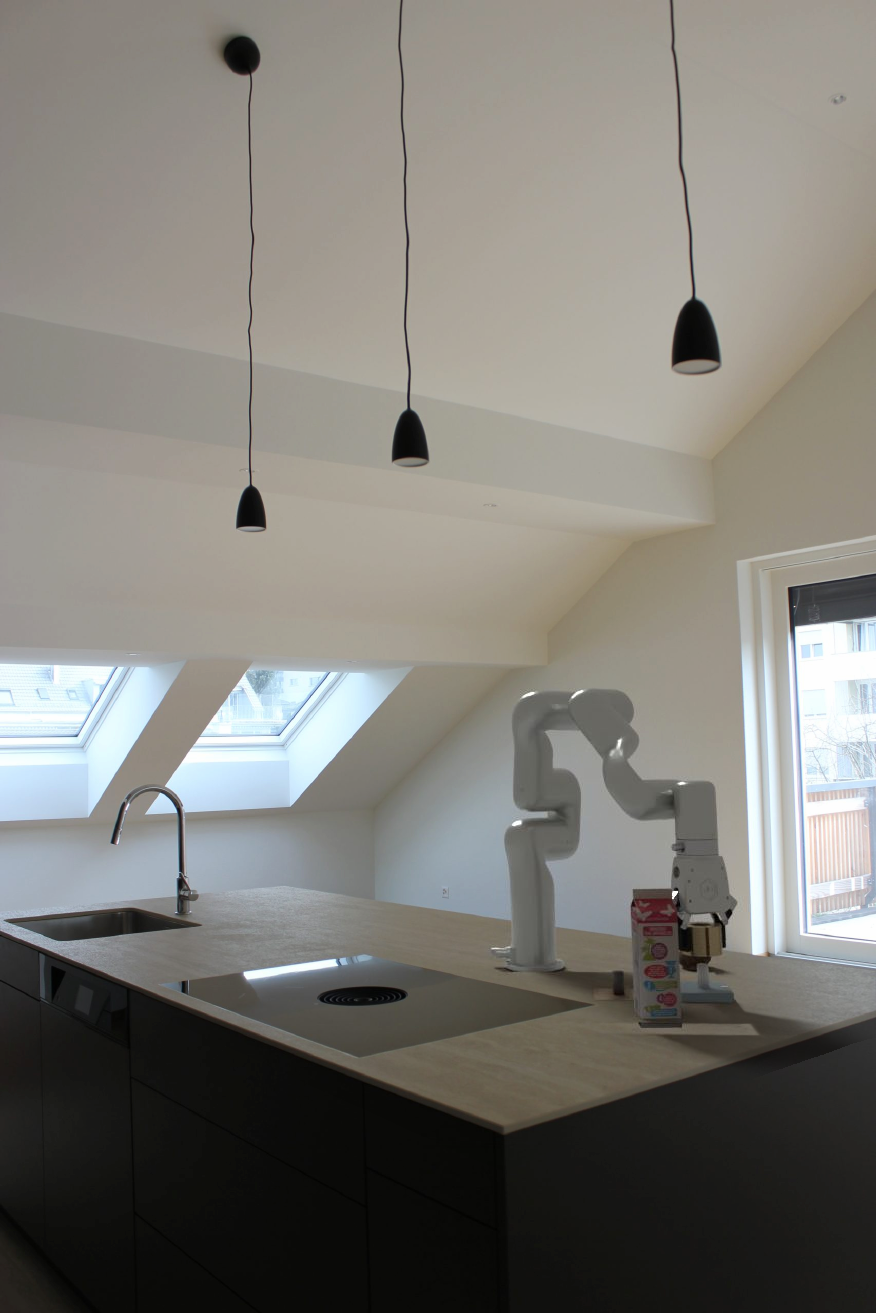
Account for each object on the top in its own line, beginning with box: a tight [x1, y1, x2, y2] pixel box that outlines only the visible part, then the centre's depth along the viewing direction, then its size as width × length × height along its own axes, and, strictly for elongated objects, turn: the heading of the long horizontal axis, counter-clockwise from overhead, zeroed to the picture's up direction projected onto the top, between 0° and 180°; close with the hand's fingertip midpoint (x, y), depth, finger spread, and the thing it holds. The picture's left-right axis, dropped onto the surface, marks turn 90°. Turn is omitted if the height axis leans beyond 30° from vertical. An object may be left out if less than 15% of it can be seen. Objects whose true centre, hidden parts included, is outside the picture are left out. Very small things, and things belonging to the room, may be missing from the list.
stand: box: [592, 970, 634, 1001], centre depth 184 cm, size 9×9×6 cm
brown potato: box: [679, 950, 712, 971], centre depth 214 cm, size 8×8×6 cm
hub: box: [680, 963, 735, 1003], centre depth 181 cm, size 9×9×7 cm
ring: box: [682, 921, 724, 958], centre depth 182 cm, size 7×7×5 cm
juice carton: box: [630, 888, 683, 1029], centre depth 170 cm, size 7×7×22 cm
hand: (701, 948), depth 182 cm, fingers closed on ring, 7 cm apart
